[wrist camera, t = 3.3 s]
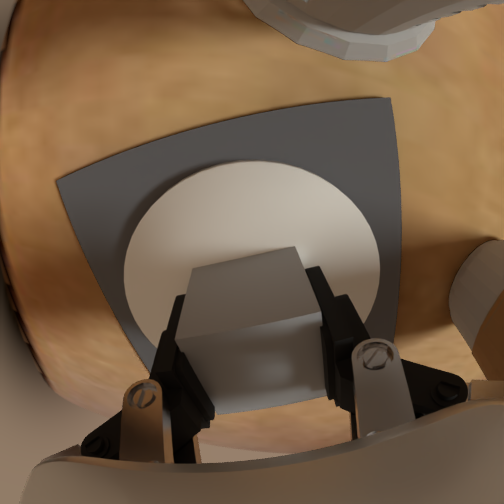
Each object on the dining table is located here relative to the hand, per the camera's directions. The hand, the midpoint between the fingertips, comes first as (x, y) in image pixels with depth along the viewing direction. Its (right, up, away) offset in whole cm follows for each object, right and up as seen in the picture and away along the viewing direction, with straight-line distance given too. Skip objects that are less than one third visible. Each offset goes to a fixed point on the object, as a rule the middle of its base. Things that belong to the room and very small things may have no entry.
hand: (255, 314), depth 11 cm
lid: (0, +1, +2) cm, 2 cm away
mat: (0, +1, +2) cm, 2 cm away
